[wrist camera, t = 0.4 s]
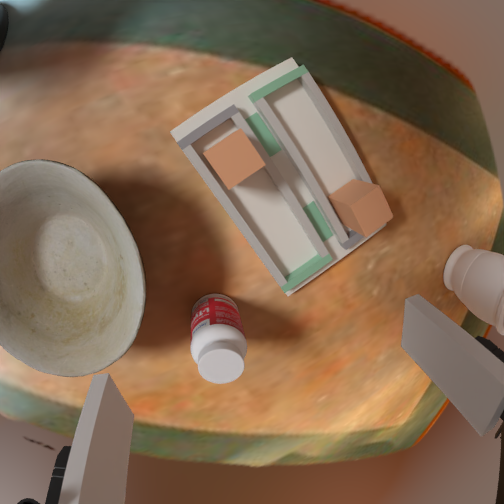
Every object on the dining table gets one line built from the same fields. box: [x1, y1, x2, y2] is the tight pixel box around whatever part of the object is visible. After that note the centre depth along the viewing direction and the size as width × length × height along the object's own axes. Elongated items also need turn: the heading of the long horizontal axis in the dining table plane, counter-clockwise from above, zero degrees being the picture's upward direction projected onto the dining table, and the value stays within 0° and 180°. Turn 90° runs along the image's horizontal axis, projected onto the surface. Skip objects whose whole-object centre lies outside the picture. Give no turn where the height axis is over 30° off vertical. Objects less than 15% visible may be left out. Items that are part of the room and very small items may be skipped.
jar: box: [443, 245, 504, 335], centre depth 38 cm, size 11×10×15 cm
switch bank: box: [170, 58, 387, 296], centre depth 34 cm, size 24×16×3 cm, turn 34°
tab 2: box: [328, 179, 393, 237], centre depth 33 cm, size 4×4×6 cm
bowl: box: [0, 160, 146, 377], centre depth 29 cm, size 24×24×10 cm
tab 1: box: [203, 128, 266, 190], centre depth 29 cm, size 4×4×6 cm
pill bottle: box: [191, 294, 247, 384], centre depth 34 cm, size 6×6×11 cm
